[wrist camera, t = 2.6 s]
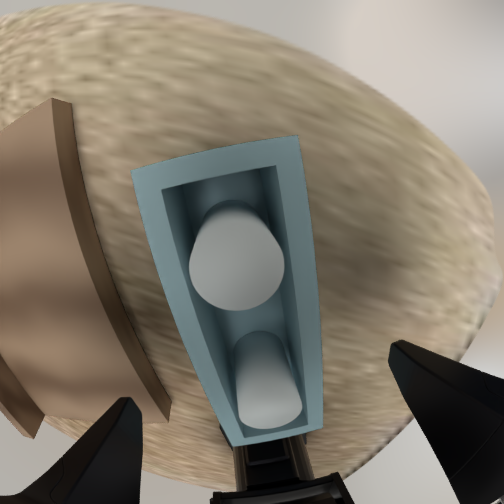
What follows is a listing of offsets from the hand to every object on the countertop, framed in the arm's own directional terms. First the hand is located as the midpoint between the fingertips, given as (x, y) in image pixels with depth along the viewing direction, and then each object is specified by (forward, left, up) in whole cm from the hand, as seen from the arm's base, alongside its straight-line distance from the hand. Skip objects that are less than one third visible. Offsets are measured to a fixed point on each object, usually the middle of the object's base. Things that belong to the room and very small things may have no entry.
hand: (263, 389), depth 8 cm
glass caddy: (0, 0, -7) cm, 7 cm away
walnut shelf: (+2, +14, -7) cm, 16 cm away
